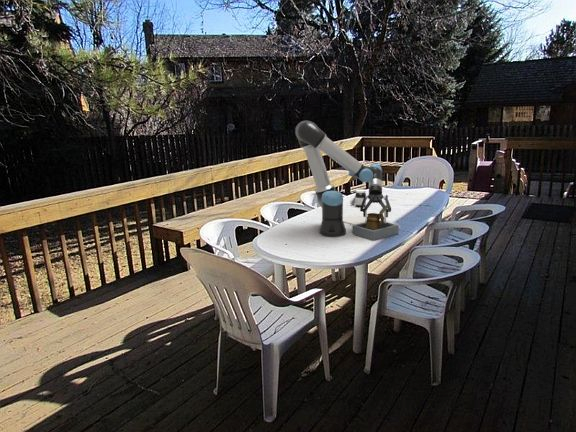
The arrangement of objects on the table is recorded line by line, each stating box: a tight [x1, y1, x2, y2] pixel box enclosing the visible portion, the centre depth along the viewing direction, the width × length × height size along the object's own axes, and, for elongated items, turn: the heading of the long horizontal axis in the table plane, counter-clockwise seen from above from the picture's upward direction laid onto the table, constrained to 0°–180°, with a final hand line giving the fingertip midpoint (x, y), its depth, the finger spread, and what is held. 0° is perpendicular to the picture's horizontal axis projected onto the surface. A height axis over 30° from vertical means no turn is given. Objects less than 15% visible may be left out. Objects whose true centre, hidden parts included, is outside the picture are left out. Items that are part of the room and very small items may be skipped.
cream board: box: [343, 214, 365, 226], centre depth 271 cm, size 18×18×1 cm
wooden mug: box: [366, 204, 388, 231], centre depth 238 cm, size 9×14×18 cm, turn 50°
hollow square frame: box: [351, 219, 399, 241], centre depth 240 cm, size 20×16×5 cm
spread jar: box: [349, 189, 367, 208], centre depth 309 cm, size 12×11×12 cm
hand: (375, 221), depth 236 cm, fingers closed on wooden mug, 10 cm apart
